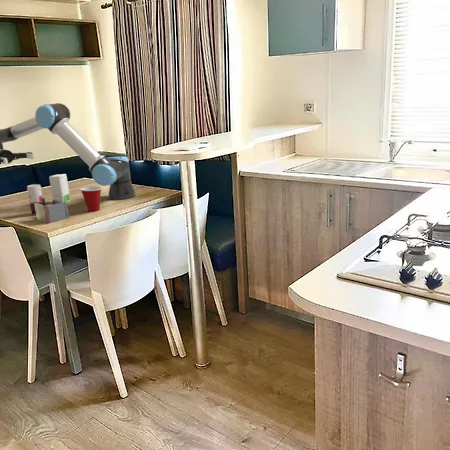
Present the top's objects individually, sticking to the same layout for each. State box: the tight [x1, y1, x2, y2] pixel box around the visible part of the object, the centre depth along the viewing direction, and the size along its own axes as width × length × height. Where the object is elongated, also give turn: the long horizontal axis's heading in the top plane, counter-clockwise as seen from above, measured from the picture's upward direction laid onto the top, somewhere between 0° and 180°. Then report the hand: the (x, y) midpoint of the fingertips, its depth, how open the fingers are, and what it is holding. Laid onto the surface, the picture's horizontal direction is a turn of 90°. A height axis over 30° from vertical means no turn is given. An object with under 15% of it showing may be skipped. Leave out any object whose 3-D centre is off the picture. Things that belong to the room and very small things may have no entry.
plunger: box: [41, 197, 51, 206], centre depth 236 cm, size 10×6×10 cm, turn 45°
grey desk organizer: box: [34, 198, 70, 224], centre depth 235 cm, size 12×11×8 cm
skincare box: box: [48, 173, 72, 203], centre depth 266 cm, size 8×7×16 cm
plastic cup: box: [80, 186, 103, 213], centre depth 245 cm, size 11×11×12 cm
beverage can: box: [26, 183, 44, 216], centre depth 245 cm, size 6×7×15 cm
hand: (19, 158), depth 245 cm, fingers open, 13 cm apart
